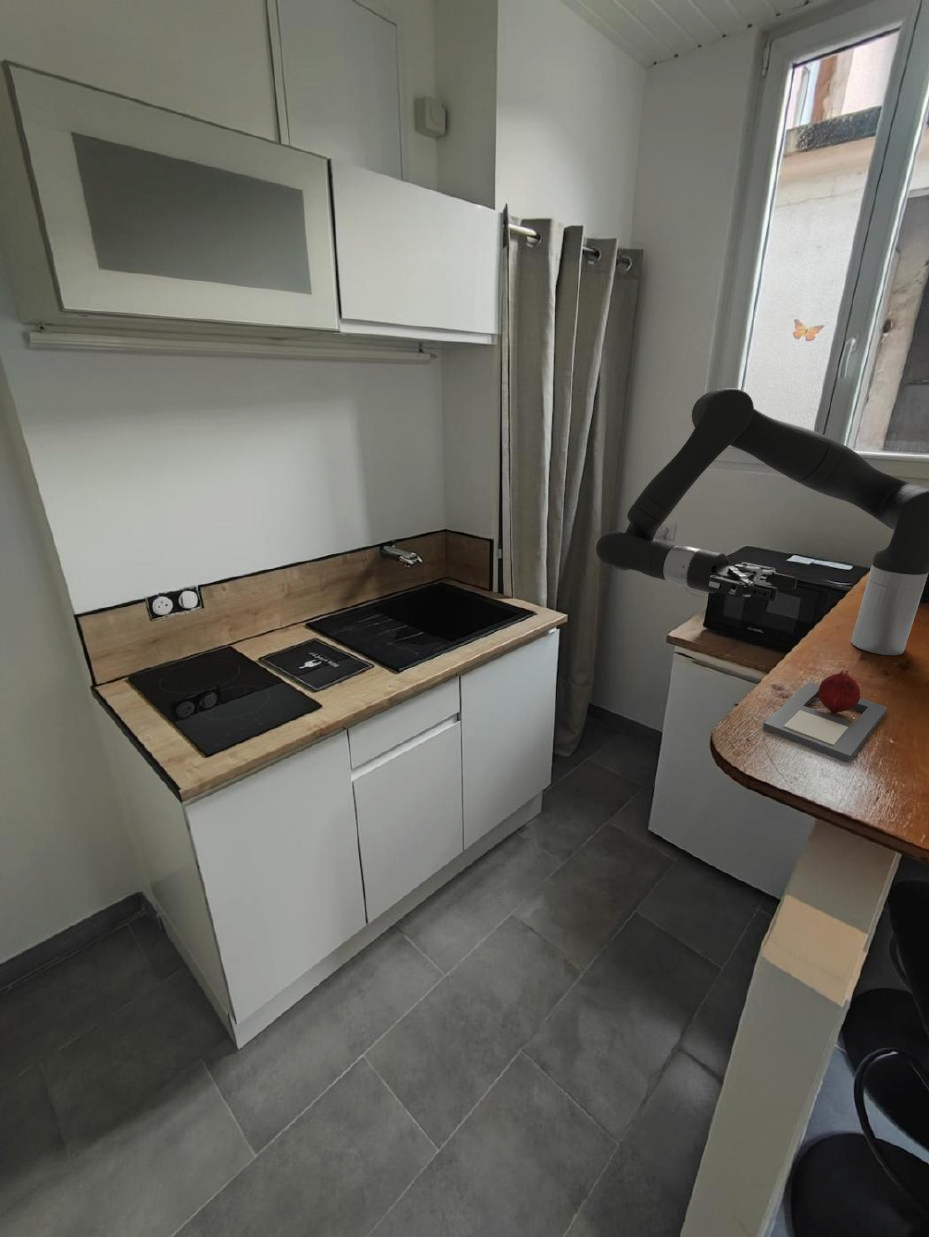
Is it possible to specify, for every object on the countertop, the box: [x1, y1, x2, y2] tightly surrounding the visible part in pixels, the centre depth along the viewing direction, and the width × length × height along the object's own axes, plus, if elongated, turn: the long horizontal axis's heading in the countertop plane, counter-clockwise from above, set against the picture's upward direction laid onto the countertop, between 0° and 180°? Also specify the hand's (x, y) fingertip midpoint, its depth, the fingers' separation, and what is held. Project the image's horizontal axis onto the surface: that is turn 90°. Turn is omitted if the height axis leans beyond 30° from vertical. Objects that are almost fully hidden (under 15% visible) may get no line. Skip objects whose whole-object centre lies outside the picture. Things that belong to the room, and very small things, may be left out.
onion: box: [818, 668, 861, 714], centre depth 94 cm, size 6×6×8 cm
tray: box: [762, 681, 889, 764], centre depth 92 cm, size 20×12×1 cm, turn 133°
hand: (786, 589), depth 96 cm, fingers open, 8 cm apart
